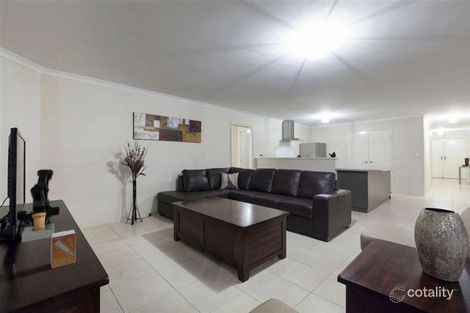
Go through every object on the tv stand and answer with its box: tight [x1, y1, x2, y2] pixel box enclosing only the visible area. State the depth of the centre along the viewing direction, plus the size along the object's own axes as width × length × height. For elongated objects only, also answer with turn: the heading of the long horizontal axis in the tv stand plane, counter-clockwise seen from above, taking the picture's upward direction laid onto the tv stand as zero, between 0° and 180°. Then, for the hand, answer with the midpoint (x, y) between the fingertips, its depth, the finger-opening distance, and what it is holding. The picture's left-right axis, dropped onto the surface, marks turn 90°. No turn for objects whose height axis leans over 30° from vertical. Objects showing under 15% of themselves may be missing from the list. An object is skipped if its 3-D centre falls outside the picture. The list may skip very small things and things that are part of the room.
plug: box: [32, 213, 46, 231], centre depth 126 cm, size 6×6×13 cm
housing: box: [21, 223, 55, 243], centre depth 126 cm, size 13×13×4 cm
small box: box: [50, 229, 77, 270], centre depth 94 cm, size 8×6×13 cm
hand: (39, 225), depth 125 cm, fingers closed on plug, 5 cm apart
